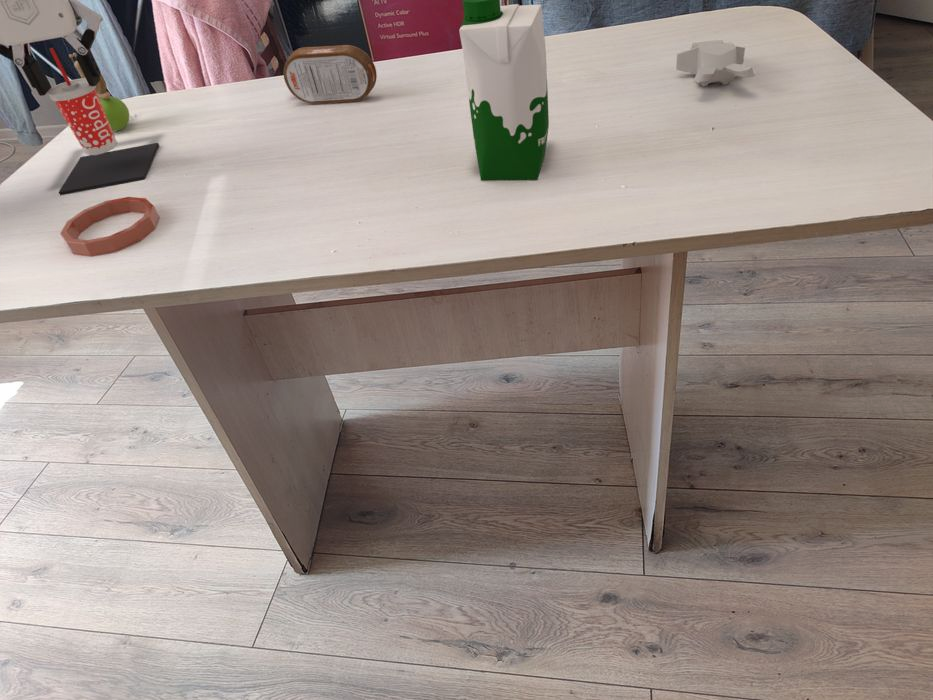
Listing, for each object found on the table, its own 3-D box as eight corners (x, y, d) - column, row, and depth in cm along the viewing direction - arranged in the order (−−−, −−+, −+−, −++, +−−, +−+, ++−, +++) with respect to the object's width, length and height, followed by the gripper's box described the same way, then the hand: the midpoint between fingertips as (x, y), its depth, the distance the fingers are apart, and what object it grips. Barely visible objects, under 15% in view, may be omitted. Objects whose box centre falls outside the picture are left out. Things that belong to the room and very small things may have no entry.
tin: (381, 95, 110) (370, 41, 105) (376, 102, 108) (365, 48, 102) (296, 99, 113) (281, 47, 108) (289, 107, 111) (274, 54, 106)
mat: (60, 195, 96) (58, 192, 95) (82, 159, 105) (80, 156, 104) (144, 179, 96) (143, 176, 96) (159, 145, 105) (158, 142, 105)
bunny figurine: (737, 31, 101) (765, 52, 89) (734, 67, 104) (759, 93, 91) (672, 38, 102) (690, 59, 90) (670, 73, 105) (687, 99, 93)
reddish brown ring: (63, 271, 79) (50, 250, 77) (86, 227, 87) (74, 206, 85) (153, 254, 80) (142, 232, 78) (168, 211, 88) (158, 190, 86)
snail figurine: (120, 120, 116) (86, 47, 109) (141, 125, 113) (108, 50, 105) (92, 132, 113) (55, 59, 106) (113, 138, 110) (76, 63, 102)
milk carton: (486, 152, 90) (468, -14, 76) (554, 151, 87) (547, -20, 74) (472, 184, 83) (449, 10, 70) (545, 184, 81) (536, 4, 68)
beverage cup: (90, 161, 95) (36, 59, 86) (72, 152, 99) (19, 53, 89) (130, 144, 98) (82, 43, 89) (112, 135, 102) (64, 38, 93)
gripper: (-93, -45, 78) (-3, 109, 89) (58, -70, 78) (128, 85, 90) (-65, -56, 83) (16, 89, 95) (76, -80, 84) (139, 67, 96)
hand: (70, 86), depth 93 cm, fingers closed on beverage cup, 6 cm apart
